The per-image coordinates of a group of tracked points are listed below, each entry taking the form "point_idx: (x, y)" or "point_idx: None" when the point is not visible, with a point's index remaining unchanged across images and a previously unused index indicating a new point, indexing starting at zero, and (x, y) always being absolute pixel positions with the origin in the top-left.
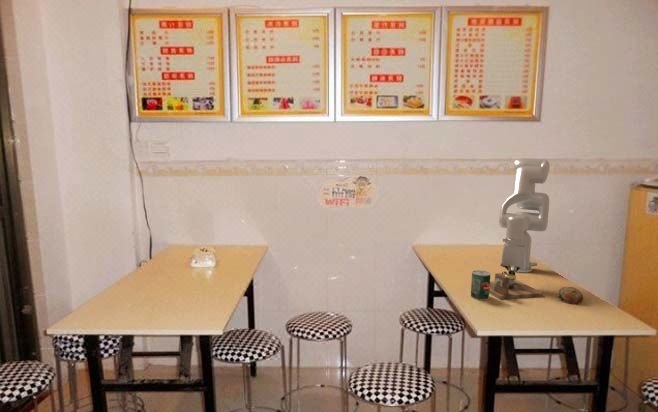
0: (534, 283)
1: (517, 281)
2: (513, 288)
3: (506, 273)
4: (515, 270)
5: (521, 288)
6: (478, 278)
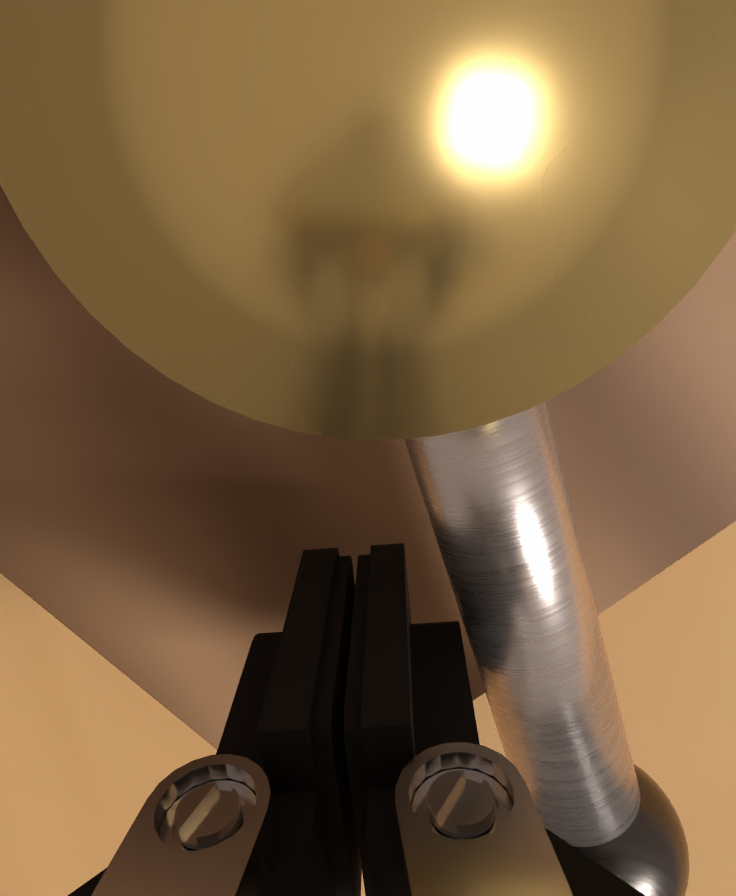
0: (11, 878)
1: None
2: None
3: None
4: (149, 846)
5: None
6: None
